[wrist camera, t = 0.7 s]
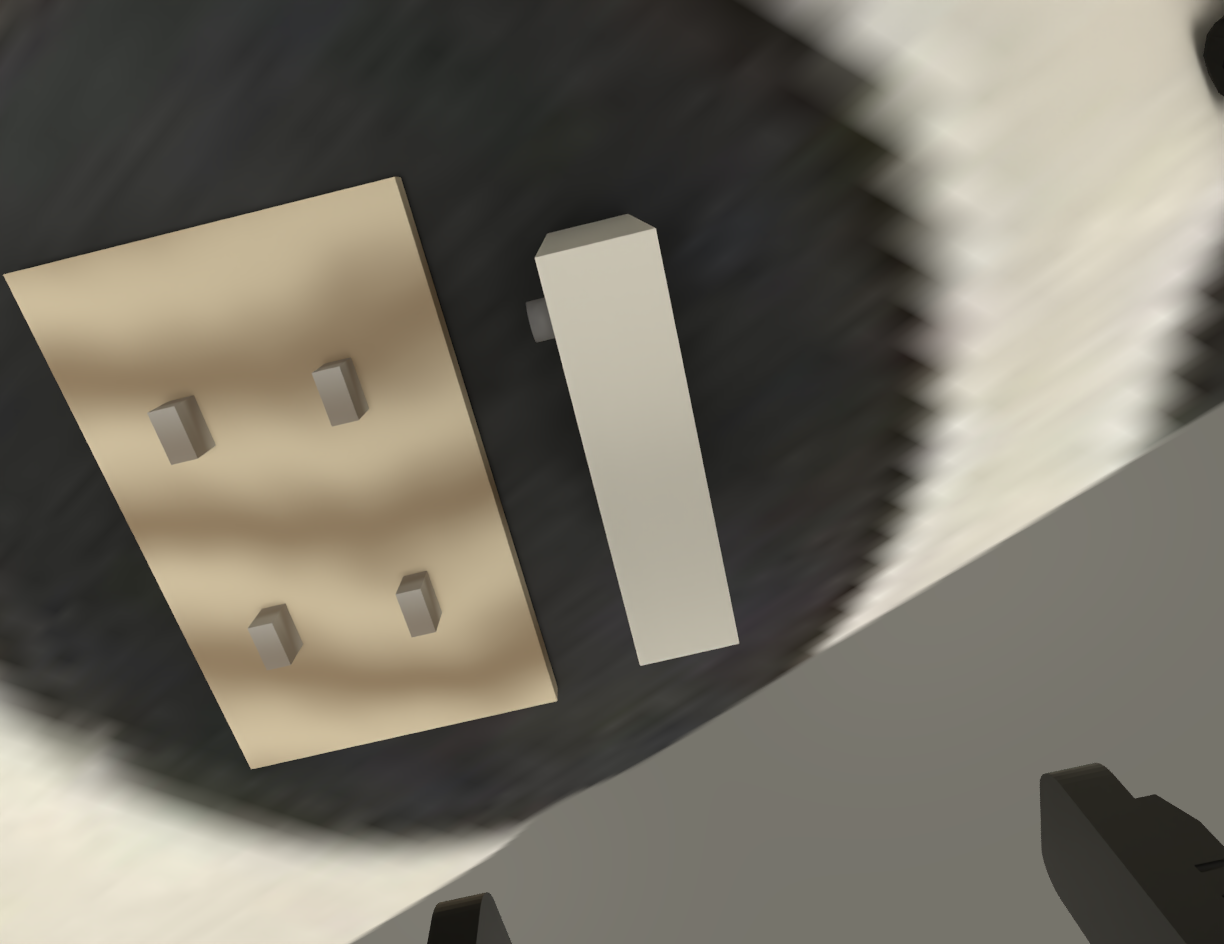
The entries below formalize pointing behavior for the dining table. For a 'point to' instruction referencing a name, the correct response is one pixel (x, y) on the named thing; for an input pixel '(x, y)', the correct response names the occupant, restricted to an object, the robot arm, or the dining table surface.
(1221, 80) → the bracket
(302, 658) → the light brown flat board
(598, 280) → the door panel
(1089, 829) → the robot arm
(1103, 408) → the dining table surface
